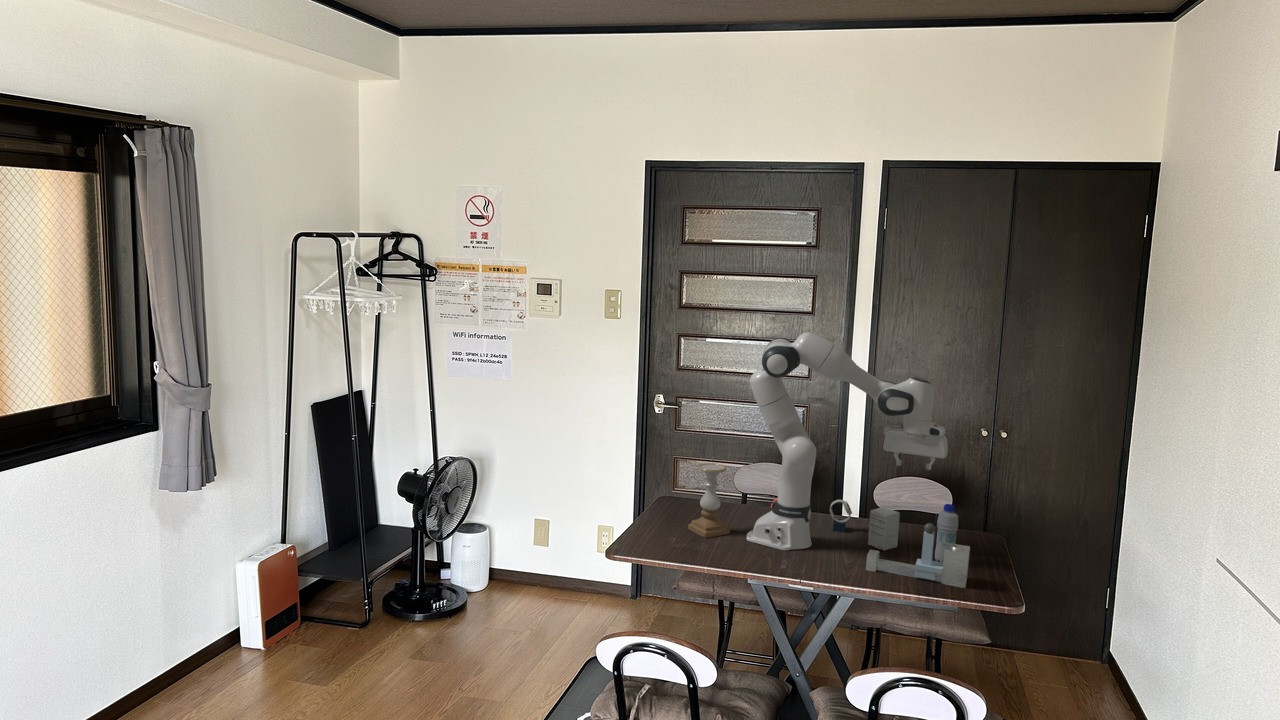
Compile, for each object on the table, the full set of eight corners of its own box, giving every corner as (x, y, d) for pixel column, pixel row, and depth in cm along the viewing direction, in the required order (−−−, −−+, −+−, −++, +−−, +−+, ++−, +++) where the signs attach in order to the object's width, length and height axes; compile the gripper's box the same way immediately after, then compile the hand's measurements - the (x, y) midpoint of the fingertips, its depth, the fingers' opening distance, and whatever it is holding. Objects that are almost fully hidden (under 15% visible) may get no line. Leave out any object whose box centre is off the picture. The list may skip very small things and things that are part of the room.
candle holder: (704, 538, 297) (708, 471, 294) (687, 528, 306) (690, 464, 303) (730, 534, 303) (733, 468, 300) (712, 525, 312) (715, 461, 309)
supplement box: (880, 541, 302) (883, 506, 300) (897, 547, 296) (900, 512, 295) (867, 544, 298) (869, 509, 296) (884, 551, 292) (887, 515, 290)
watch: (850, 533, 309) (852, 503, 308) (828, 530, 311) (830, 501, 310) (850, 528, 315) (852, 499, 313) (828, 525, 317) (830, 497, 315)
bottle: (937, 557, 288) (942, 500, 285) (957, 562, 283) (963, 504, 281) (930, 562, 282) (935, 504, 280) (950, 567, 278) (956, 508, 276)
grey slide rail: (865, 570, 273) (868, 535, 272) (870, 562, 280) (872, 528, 279) (965, 588, 261) (968, 553, 259) (966, 580, 268) (970, 545, 266)
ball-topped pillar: (914, 576, 267) (918, 524, 265) (916, 570, 272) (921, 519, 270) (941, 581, 263) (945, 528, 261) (943, 575, 269) (947, 523, 267)
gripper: (883, 424, 282) (879, 465, 283) (948, 432, 273) (944, 474, 275) (886, 421, 287) (882, 461, 289) (950, 428, 279) (946, 469, 281)
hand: (913, 467), depth 282 cm, fingers open, 8 cm apart
